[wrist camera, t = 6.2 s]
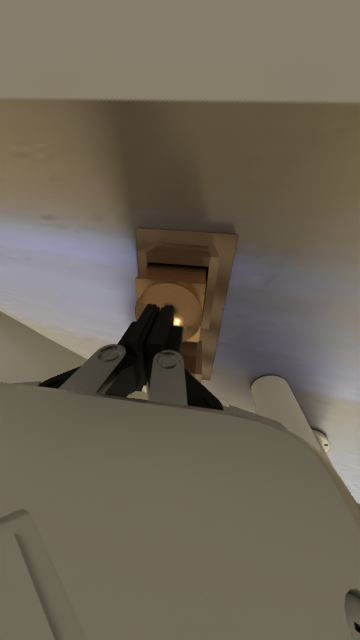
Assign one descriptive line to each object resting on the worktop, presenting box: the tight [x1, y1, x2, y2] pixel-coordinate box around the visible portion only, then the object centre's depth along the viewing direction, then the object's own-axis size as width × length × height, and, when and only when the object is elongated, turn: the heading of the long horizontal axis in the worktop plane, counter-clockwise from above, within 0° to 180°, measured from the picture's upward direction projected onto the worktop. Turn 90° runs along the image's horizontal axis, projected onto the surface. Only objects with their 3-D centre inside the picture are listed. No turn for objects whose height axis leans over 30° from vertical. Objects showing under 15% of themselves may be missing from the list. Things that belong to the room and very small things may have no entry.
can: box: [251, 375, 320, 451], centre depth 28 cm, size 6×6×12 cm
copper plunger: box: [135, 262, 206, 342], centre depth 16 cm, size 5×5×8 cm
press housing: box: [136, 228, 238, 400], centre depth 24 cm, size 24×12×8 cm, turn 177°
